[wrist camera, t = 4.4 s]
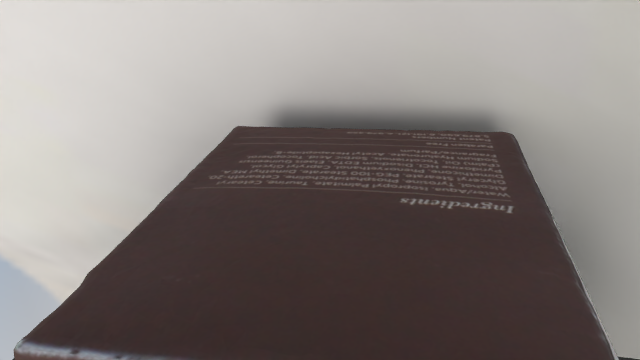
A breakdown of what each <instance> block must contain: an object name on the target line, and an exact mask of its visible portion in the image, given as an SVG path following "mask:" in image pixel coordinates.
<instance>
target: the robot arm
mask: <svg viewBox="0 0 640 360" xmlns="http://www.w3.org/2000/svg"><path fill="white" fill-rule="evenodd" d="M552 219H553V221H554V218H553V217H552ZM554 223H555V221H554ZM555 226H556V227H557V225H556V223H555ZM557 229H558V227H557ZM558 231H559V229H558ZM559 233H560V231H559ZM560 235H561V234H560ZM561 238H562V236H561ZM562 241H563V243H564V246H565V248H566V250H567V252H568V255H569V256H570V258H571V260H572V262H573V259H572V257H571V255H570V253H569V251H568V249H567V246H566V244H565V242H564V240H563V238H562ZM573 264H574V262H573ZM574 267H575V269H576V271H577V273H578V275H579V272H578V270H577V268H576V266H575V264H574ZM579 278H580V280H581V282H582V285H583V288H584V290H585V293H586V296H587V297H588V299H589V301H590V303H591V304H592V306H593V308H594V310H595V313H596V315H597V318H598V320H599V323H600V325H601V327H602V329H603V331H604V333H605V336H606V338H607V340H608V342H609V344H610V347H611V350H612V353H613V356H614V359H615V360H640V359H632V358H623V357H618V356H617V354H616V352H615V350H614V348H613V346H612V344H611V341H610V339H609V337H608V335H607V333H606V331H605V328H604V326H603V324H602V322H601V320H600V318H599V315H598V313H597V311H596V309H595V307H594V305H593V303H592V300H591V298H590V296H589V294H588V292H587V290H586V287H585V285H584V283H583V281H582V279H581V277H580V275H579ZM13 360H15V358H14V359H13Z"/></svg>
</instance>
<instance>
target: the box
mask: <svg viewBox="0 0 640 360" xmlns="http://www.w3.org/2000/svg"><path fill="white" fill-rule="evenodd" d="M14 358H15V360H615V359H614V356H613V353H612V350H611V347H610V344H609V342H608V340H607V338H606V336H605V333H604V331H603V329H602V327H601V325H600V323H599V320H598V318H597V315H596V313H595V310H594V308H593V306H592V304H591V303H590V301H589V299H588V297H587V296H586V293H585V290H584V288H583V285H582V282H581V280H580V278H579V275H578V273H577V271H576V269H575V267H574V264H573V262H572V260H571V258H570V256H569V255H568V252H567V250H566V248H565V246H564V243H563V241H562V238H561V235H560V233H559V231H558V229H557V227H556V226H555V223H554V221H553V219H552V215H551V213H550V211H549V209H548V206H547V205H546V203H545V201H544V198H543V196H542V195H541V192H540V190H539V188H538V186H537V184H536V182H535V180H534V178H533V175H532V173H531V171H530V170H529V168H528V165H527V163H526V160H525V158H524V156H523V153H522V151H521V149H520V146H519V144H518V142H517V140H516V138H515V136H514V135H512V134H510V133H505V132H471V131H430V130H408V131H405V130H379V129H324V128H278V127H246V126H238V127H235V128H234V129H233V130H232V132H231V133H229V134H228V135H227V137H226V138H225V139H224V140H223V141H222V142H221V143H220V144H219V145H218V146H217V147H216V148H215V149H214V150H213V151H212V152H211V153H209V154H208V155H207V157H206V158H205V159H204V160H203V161H202V162H201V163H199V164H198V165H197V167H196V168H195V169H193V170H192V171H191V172H190V173H189V174H188V176H187V177H186V178H185V179H184V180H183V181H182V182H181V183H180V184H179V185H178V186H177V187H175V189H174V190H173V191H172V192H170V193H169V194H168V195H167V196H166V197H165V198H164V199H163V200H162V201H161V202H160V204H159V205H158V206H157V207H156V208H155V209H154V210H153V211H152V212H151V213H150V214H149V215H148V216H147V217H146V218H145V219H144V220H143V221H142V222H141V223H140V224H139V225H138V226H137V227H136V228H135V229H134V230H133V231H132V232H131V233H130V234H129V235H128V236H127V237H126V238H125V239H124V240H123V241H122V242H121V243H120V244H119V245H118V246H117V247H116V248H115V249H114V250H113V251H112V252H111V253H110V254H109V255H108V256H107V257H106V258H105V259H103V260H102V261H101V262H100V263H99V264H98V265H97V266H96V267H95V268H93V269H92V270H91V271H90V272H89V273H88V274H87V276H86V278H85V279H84V281H83V282H82V284H81V285H80V287H79V288H78V289H77V290H76V291H75V292H74V293H72V294H71V295H70V296H69V297H68V298H67V299H66V300H65V301H64V302H63V303H62V304H61V305H60V306H59V307H58V308H57V309H56V310H55V311H54V312H53V313H51V314H50V315H49V316H48V317H47V318H45V319H44V320H43V321H42V322H41V323H40V324H38V325H37V326H36V327H35V328H34V329H33V330H32V331H31V332H30V333H29V334H28V335H27V336H25V337H24V338H23V339H22V340H21V341H19V342H18V343H17V345H16V347H15V349H14Z"/></svg>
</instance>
